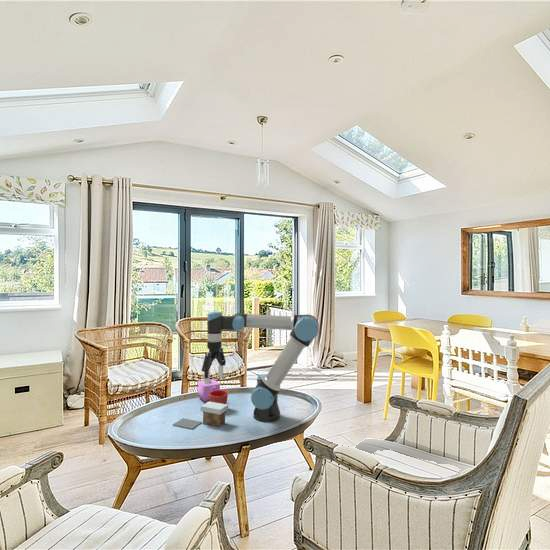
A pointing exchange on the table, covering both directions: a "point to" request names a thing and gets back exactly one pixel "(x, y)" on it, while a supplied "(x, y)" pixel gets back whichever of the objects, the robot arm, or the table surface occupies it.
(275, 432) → the table surface
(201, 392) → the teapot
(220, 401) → the flower pot
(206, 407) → the lid
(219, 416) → the tea box
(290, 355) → the robot arm
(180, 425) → the plate
